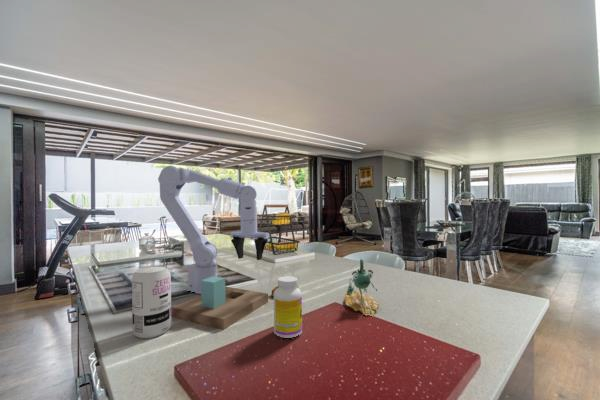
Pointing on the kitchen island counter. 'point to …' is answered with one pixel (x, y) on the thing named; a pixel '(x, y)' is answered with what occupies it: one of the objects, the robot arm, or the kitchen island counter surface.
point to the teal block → (213, 292)
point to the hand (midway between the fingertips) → (249, 258)
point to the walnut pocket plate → (221, 308)
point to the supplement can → (151, 301)
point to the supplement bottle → (287, 308)
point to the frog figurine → (358, 298)
